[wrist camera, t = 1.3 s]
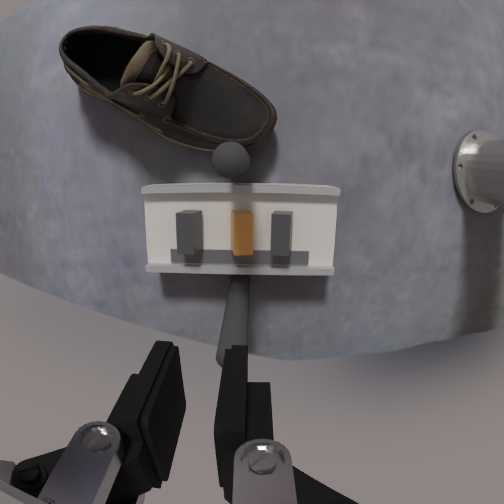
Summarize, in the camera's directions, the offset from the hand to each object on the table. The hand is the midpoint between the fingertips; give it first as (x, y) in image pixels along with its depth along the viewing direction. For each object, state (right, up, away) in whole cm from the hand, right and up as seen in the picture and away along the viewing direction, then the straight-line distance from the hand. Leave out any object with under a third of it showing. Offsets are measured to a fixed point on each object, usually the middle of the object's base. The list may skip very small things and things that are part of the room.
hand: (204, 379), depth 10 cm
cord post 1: (0, +15, +27) cm, 31 cm away
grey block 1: (-5, +7, +25) cm, 27 cm away
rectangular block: (0, +7, +25) cm, 26 cm away
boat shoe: (-9, +25, +25) cm, 36 cm away
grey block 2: (+5, +7, +25) cm, 27 cm away
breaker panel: (0, +8, +29) cm, 30 cm away
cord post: (0, +1, +31) cm, 31 cm away
